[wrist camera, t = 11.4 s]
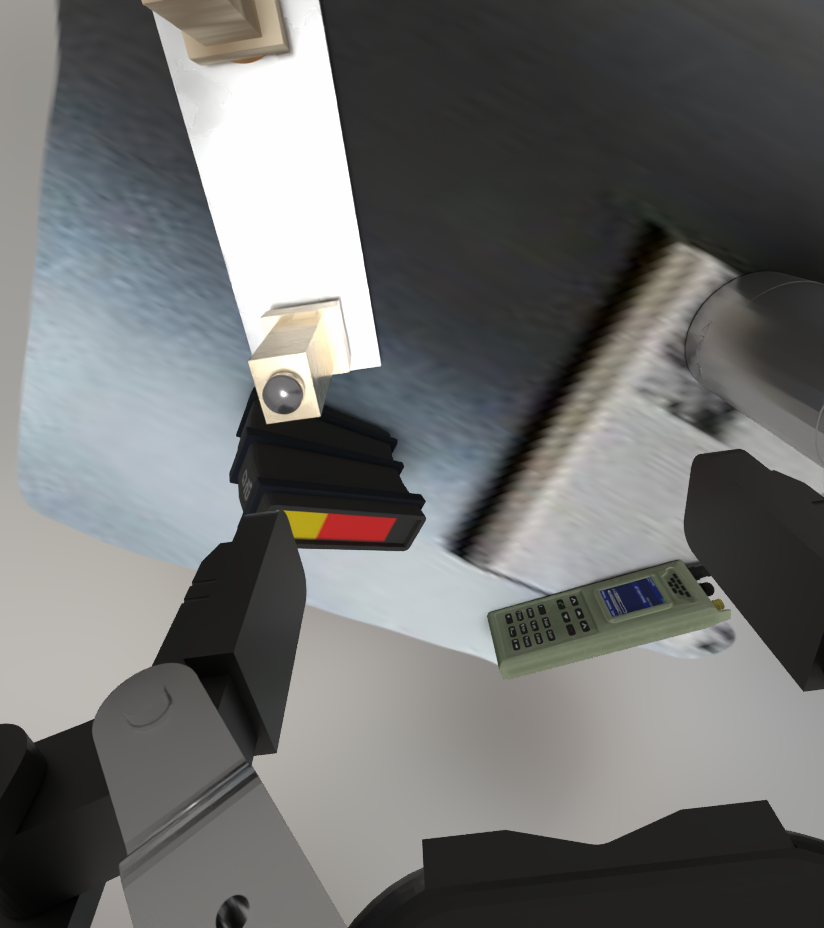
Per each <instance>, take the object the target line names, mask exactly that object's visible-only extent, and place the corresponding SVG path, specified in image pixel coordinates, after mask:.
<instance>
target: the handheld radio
mask: <svg viewBox="0 0 824 928" xmlns="http://www.w3.org/2000/svg"><path fill="white" fill-rule="evenodd" d="M706 576H708V577H709V576H711V575H710V574H709V572H708V571H707V570H706V569H705V567H704V566H703V565H702V566H698V567H690V568H687V567H686V566H685V564H684V563H683V562H682V561H681V560H678V561H674V562H670V563H667V564H663V565H660V566H656V567H652V568H649V569H645V570H641V571H638V572H634V573H631V574H627V575H623V576H620V577H616V578H613V579H609V580H605V581H602V582H598V583H595V584H591V585H587V586H584V587H580V588H576V589H573V590H569V591H566V592H562V593H558V594H555V595H551V596H548V597H544V598H540V599H537V600H533V601H530V602H526V603H522V604H519V605H515V606H512V607H508V608H504V609H501V610H497V611H493V612H490V613H488V615H487V617H488V622H489V626H490V631H491V635H492V639H493V644H494V648H495V653H496V657H497V662H498V666H499V670H500V672H501V674H502V677H503V679H512V678H516V677H520V676H524V675H528V674H532V673H536V672H539V671H543V670H547V669H551V668H554V667H558V666H562V665H566V664H570V663H574V662H577V661H582V660H585V659H589V658H593V657H597V656H600V655H605V654H608V653H612V652H616V651H620V650H624V649H628V648H632V647H635V646H639V645H643V644H647V643H651V642H655V641H658V640H662V639H666V638H670V637H674V636H678V635H682V634H685V633H689V632H693V631H697V630H701V629H705V628H708V627H712V626H714V625H716V624H718V623H720V622H723V621H726V620H728V619H730V616H731V610H721V609H724V604H723V602H722V600H720V599H717V600H712V601H711V600H710V599H709V598H708V596H711V595H713V593H714V587H713V586H712V584H710V583H708V582H705V583H699V584H698V582H697V581H696V580H700V578H703V577H706Z"/></svg>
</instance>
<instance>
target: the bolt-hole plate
mask: <svg viewBox="0 0 824 928" xmlns="http://www.w3.org/2000/svg"><path fill="white" fill-rule="evenodd" d="M280 4H281V9H282V14H283V20H284V25H285V30H286V35H287V40H288V45H289V50H290V51H289V52H282V53H276V54H270V55H264V56H258V57H252V58H245V59H239V60H233V61H227V62H221V63H215V64H209V65H202V66H200V65H199V64H197V63H195V62H193V61H192V60H190V59H189V57H188V54H187V50H186V46H185V43H184V39H183V35H182V32H181V30H180V29H179V28H177V27H176V26H174V25H173V24H172V23H170V22H169V21H167V20H166V19H164V18H163V17H161V16H160V15H158V14H157V13H155V12H154V11H153V14H154V18H155V21H156V25H157V28H158V32H159V35H160V38H161V42H162V45H163V49H164V52H165V56H166V59H167V63H168V66H169V70H170V73H171V76H172V80H173V83H174V87H175V90H176V94H177V97H178V101H179V104H180V108H181V111H182V114H183V118H184V121H185V125H186V128H187V132H188V135H189V139H190V142H191V145H192V149H193V152H194V156H195V159H196V163H197V166H198V170H199V173H200V177H201V180H202V183H203V187H204V190H205V194H206V197H207V201H208V204H209V208H210V211H211V215H212V218H213V221H214V225H215V228H216V232H217V235H218V239H219V242H220V246H221V249H222V253H223V256H224V259H225V263H226V266H227V270H228V273H229V277H230V280H231V284H232V287H233V291H234V294H235V297H236V301H237V304H238V308H239V311H240V315H241V318H242V322H243V325H244V329H245V332H246V335H247V339H248V342H249V346H250V349H251V353H252V356H251V358H250V359H249V360H248V363H249V366H250V369H251V373H252V376H253V380H254V383H255V386H256V390H257V393H258V397H259V400H260V403H261V407H262V410H263V413H264V417H265V420H266V424H271V423H278V422H285V421H292V420H299V419H306V418H313V417H320V416H321V413H322V410H323V406H324V402H325V399H326V395H327V392H328V388H329V384H330V381H331V377H332V375H333V374H340V373H347V372H350V370H356V369H363V368H370V367H377V366H381V357H380V351H379V345H378V339H377V333H376V327H375V321H374V316H373V310H372V304H371V298H370V292H369V286H368V280H367V274H366V268H365V262H364V256H363V250H362V244H361V238H360V233H359V227H358V221H357V215H356V209H355V203H354V197H353V191H352V185H351V179H350V173H349V167H348V161H347V155H346V150H345V144H344V138H343V132H342V126H341V120H340V114H339V108H338V102H337V96H336V90H335V84H334V78H333V72H332V67H331V61H330V55H329V49H328V43H327V37H326V31H325V25H324V19H323V13H322V7H321V1H320V0H280Z"/></svg>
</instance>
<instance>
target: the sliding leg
mask: <svg viewBox="0 0 824 928" xmlns="http://www.w3.org/2000/svg"><path fill="white" fill-rule="evenodd" d="M142 4H144V5H145V6H147V7H148V8H149V9H151V10H152V11H154V12H155V13H157V14H158V15H160V16H161V17H163V18H164V19H166V20H167V21H169V22H170V23H172V24H173V25H174V26H176V27H177V28H179V29H180V30H181V32H182V35H183V39H184V43H185V46H186V50H187V54H188V57H189V59H190V60H192V61H193V62H195V63H197V64H199V65H200V66H202V65H209V64H215V63H221V62H227V61H233V60H239V59H245V58H252V57H258V56H264V55H270V54H276V53H282V52H289V51H290V50H289V45H288V40H287V35H286V30H285V25H284V20H283V14H282V9H281V4H280V0H142Z"/></svg>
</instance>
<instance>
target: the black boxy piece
mask: <svg viewBox="0 0 824 928" xmlns="http://www.w3.org/2000/svg"><path fill="white" fill-rule="evenodd" d="M236 436H237V437H240V441H239V445H238V451H237V454H236V457H235V459H234V462H233V465H232V468H231V470H230V473H229V477H230V483H235V484H238V487H239V500H240V503H241V506H242V509H243V515H242V517H241V520H242V518H243V516H244V515H246V514H254V513H261V512H269V511H276V510H284V511H285V513H286V514H287V517H288V519H289V523H290V526H291V529H292V532H293V536H294V539H295V542H296V546H297V548H303V549H341V550H379V551H406V550H408V549H409V548H410V546H411V544H412V543H413V541H414V539H415V538H416V536H417V534H418V533H419V531H420V529H421V527H422V526H423V524H424V522H425V521H426V517H425V515H424V514H423V512H422V511H421V509H422V507H423V506H424V504H425V502H426V501H425V500H424V498H423V497H422V495H421V494H413V493H409V491H408V490H407V489H406V487H405V486H404V484H403V483H402V480H401V478H400V476H399V475H400V474H401V472H402V470H403V468H404V465H403V463H402V462H399V461H395V460H393V457H392V453H393V451H394V449H395V447H396V445H397V439H394V438H392V437H390V434H389V433H387V432H385V431H382V430H380V429H377V428H375V427H373V426H370V425H368V424H365V423H363V422H361V421H358V420H356V419H353V418H351V417H348V416H346V415H344V414H341V413H339V412H336V411H334V410H331V409H329V408H327V407H324V406H323V410H322V413H321V416H320V417H313V418H306V419H299V420H292V421H285V422H278V423H271V424H266V420H265V417H264V413H263V410H262V407H261V403H260V400H259V397H258V393H257V390H256V387H254V388H253V390H252V392H251V395H250V397H249V400H248V403H247V406H246V409H245V411H244V414H243V417H242V420H241V423H240V425H239V428H238V431H237V434H236ZM241 520H240V522H241ZM240 522H239V524H240ZM238 527H239V525H238ZM238 527H237V528H238Z"/></svg>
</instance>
